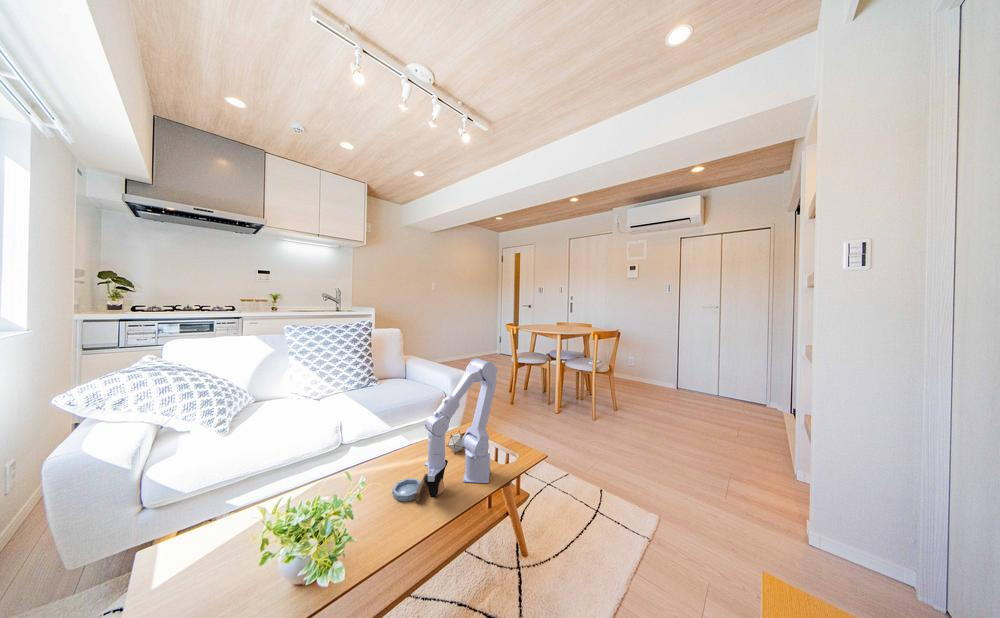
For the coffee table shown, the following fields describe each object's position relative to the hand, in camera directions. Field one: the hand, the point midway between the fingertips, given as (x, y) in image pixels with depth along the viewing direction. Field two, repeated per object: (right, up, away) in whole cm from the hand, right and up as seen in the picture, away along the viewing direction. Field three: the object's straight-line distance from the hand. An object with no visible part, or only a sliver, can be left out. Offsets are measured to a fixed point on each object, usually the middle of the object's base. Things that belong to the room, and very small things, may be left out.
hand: (436, 489), depth 105 cm
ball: (0, -1, 0) cm, 1 cm away
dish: (-10, -1, 0) cm, 10 cm away
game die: (+3, -1, +28) cm, 29 cm away
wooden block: (-5, -1, 0) cm, 5 cm away
